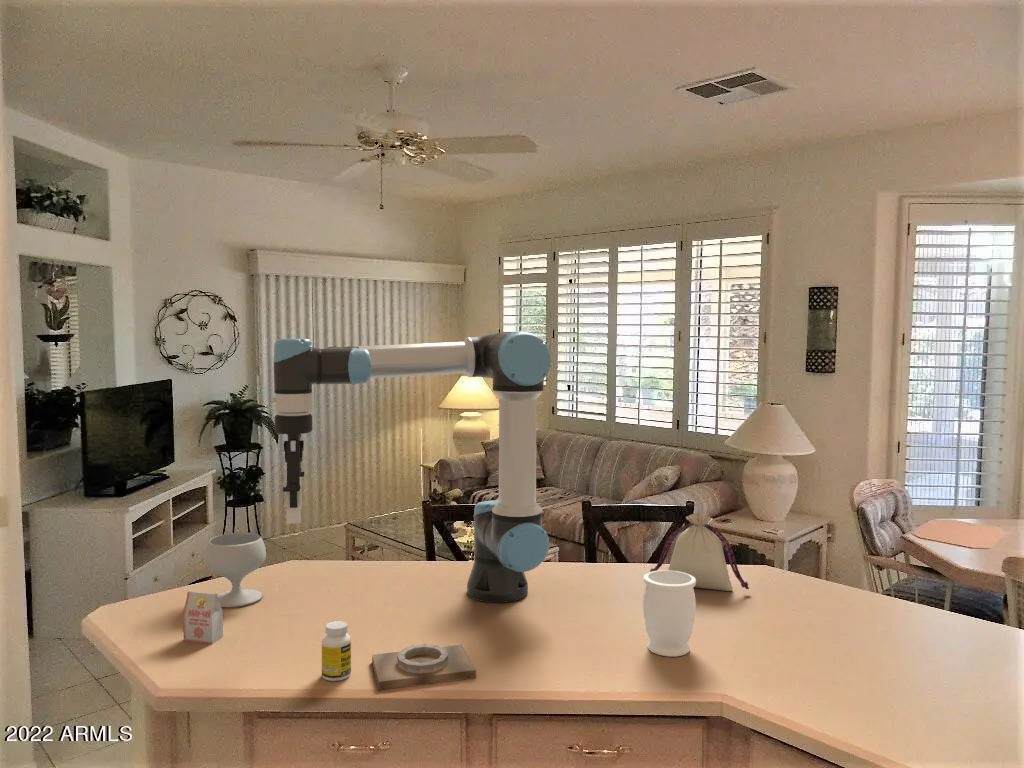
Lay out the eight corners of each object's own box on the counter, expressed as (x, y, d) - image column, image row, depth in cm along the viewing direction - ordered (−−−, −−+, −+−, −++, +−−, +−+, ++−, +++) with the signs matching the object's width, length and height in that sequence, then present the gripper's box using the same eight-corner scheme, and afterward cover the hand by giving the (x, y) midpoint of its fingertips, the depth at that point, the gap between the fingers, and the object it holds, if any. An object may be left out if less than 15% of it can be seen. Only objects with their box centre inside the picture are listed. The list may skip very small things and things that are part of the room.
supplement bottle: (344, 683, 140) (343, 631, 139) (316, 680, 141) (316, 629, 140) (355, 670, 145) (355, 620, 144) (329, 668, 146) (328, 618, 145)
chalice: (279, 596, 185) (278, 536, 184) (230, 614, 173) (229, 550, 172) (241, 586, 193) (240, 528, 192) (192, 602, 181) (191, 541, 180)
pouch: (748, 587, 193) (750, 514, 192) (748, 598, 185) (750, 521, 184) (650, 577, 200) (651, 506, 199) (645, 587, 193) (647, 513, 191)
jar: (664, 664, 148) (665, 588, 147) (632, 644, 157) (633, 573, 156) (705, 653, 153) (707, 580, 152) (672, 635, 162) (673, 566, 161)
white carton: (194, 634, 162) (193, 588, 161) (223, 637, 160) (221, 591, 160) (183, 641, 158) (182, 594, 158) (212, 644, 157) (211, 596, 156)
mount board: (462, 651, 153) (462, 637, 153) (475, 677, 142) (475, 662, 142) (372, 662, 148) (372, 647, 148) (378, 689, 137) (378, 673, 137)
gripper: (277, 408, 167) (278, 502, 169) (271, 420, 143) (272, 531, 145) (312, 407, 169) (313, 501, 171) (312, 419, 145) (313, 529, 146)
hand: (294, 515), depth 158 cm, fingers open, 13 cm apart
